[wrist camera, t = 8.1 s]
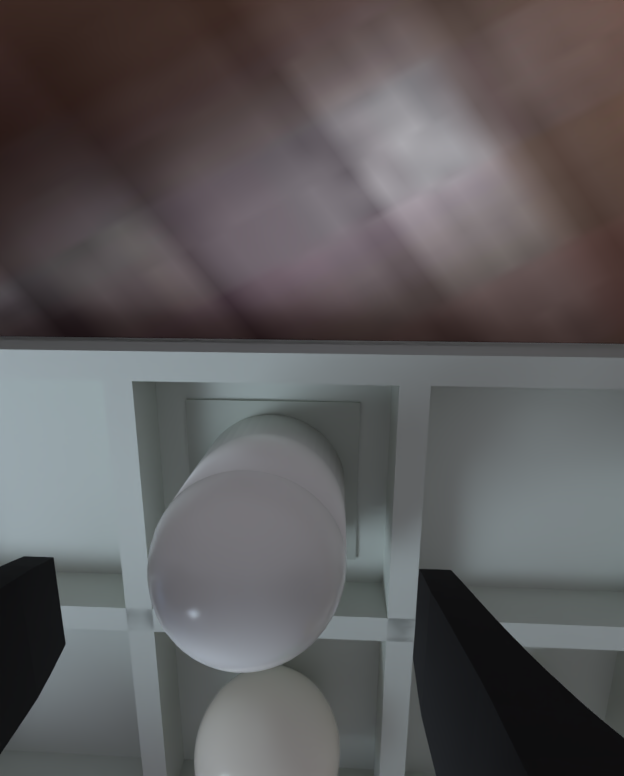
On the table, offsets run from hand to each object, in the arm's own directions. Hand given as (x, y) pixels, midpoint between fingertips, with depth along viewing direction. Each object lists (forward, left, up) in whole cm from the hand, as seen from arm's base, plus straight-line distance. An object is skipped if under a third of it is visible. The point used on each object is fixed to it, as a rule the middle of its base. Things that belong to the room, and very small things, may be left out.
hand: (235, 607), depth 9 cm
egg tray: (-4, 0, -6) cm, 8 cm away
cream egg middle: (-8, 0, -6) cm, 10 cm away
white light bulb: (0, 0, -6) cm, 6 cm away
